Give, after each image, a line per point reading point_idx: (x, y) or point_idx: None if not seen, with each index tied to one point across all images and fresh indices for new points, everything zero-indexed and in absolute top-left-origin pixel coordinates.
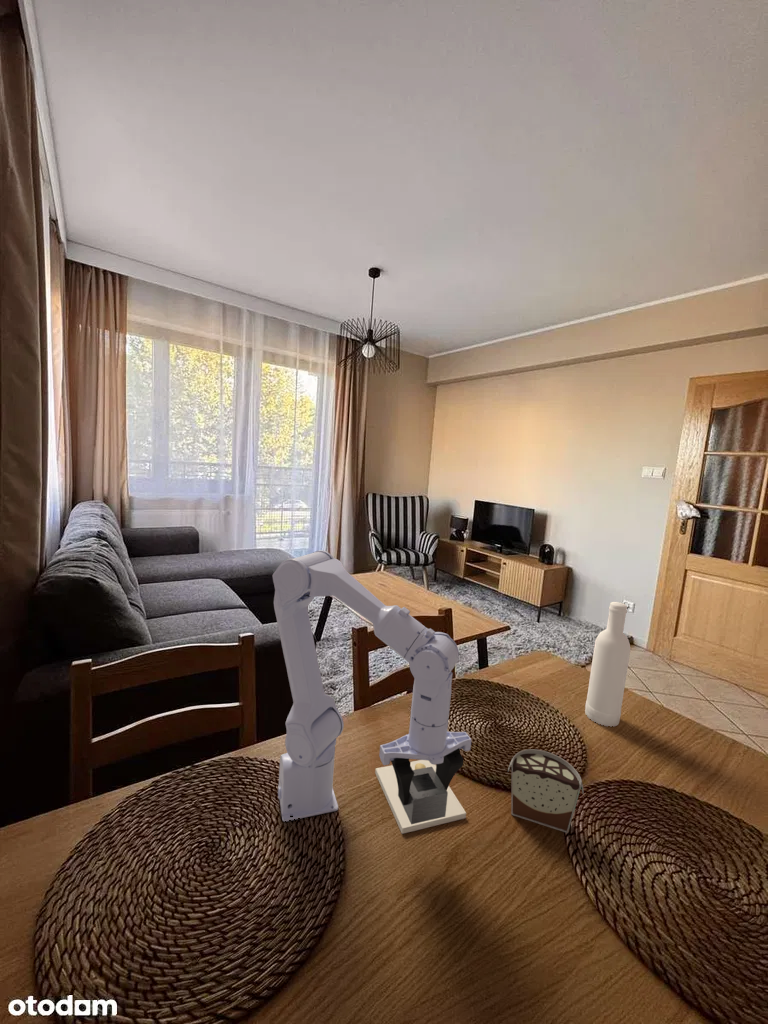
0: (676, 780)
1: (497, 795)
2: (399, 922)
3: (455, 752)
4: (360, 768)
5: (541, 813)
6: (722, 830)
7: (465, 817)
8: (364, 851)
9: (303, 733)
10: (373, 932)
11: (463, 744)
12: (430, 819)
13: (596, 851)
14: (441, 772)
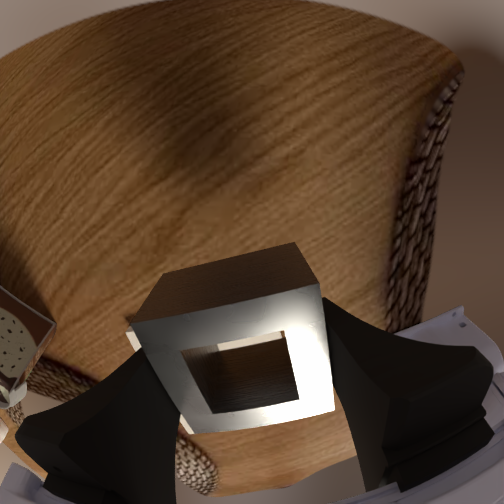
0: None
1: (76, 360)
2: (304, 108)
3: (62, 483)
4: (324, 414)
5: (11, 311)
6: None
7: (129, 326)
8: (356, 255)
9: None
10: (353, 98)
11: (17, 501)
12: (218, 261)
13: None
14: (152, 412)
